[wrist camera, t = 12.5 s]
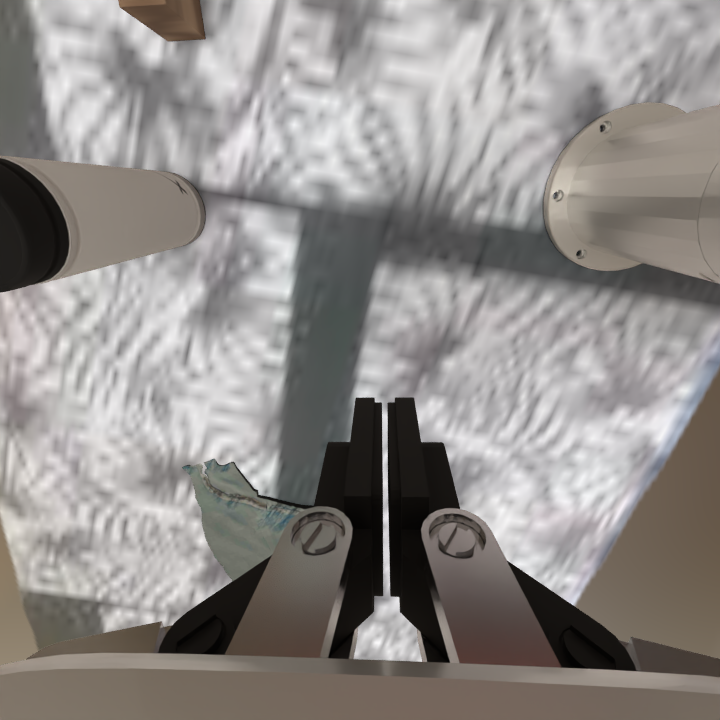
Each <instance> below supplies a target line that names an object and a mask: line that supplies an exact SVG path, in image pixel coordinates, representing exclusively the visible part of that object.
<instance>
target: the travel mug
mask: <svg viewBox="0 0 720 720" xmlns="http://www.w3.org/2000/svg"><path fill="white" fill-rule="evenodd" d="M204 223H205V210H204V206H203V202H202V200H201V197H200V195H199V193H198V192H197V191H196V189H195V188H194V187H193V186H192V185H191V184H190V183H189V182H188V181H187V180H186V179H184V178H183V177H181V176H179V175H177V174H174V173H170V172H163V171H153V170H143V169H132V168H122V167H112V166H102V165H91V164H81V163H71V162H60V161H50V160H40V159H30V158H19V157H9V156H0V292H6V291H11V290H14V289H18V288H22V287H26V286H29V285H35V284H41V283H46V282H49V281H52V280H57V279H61V278H64V277H68V276H72V275H76V274H79V273H83V272H87V271H91V270H94V269H98V268H102V267H106V266H109V265H113V264H117V263H120V262H124V261H128V260H132V259H135V258H139V257H143V256H147V255H150V254H154V253H158V252H162V251H165V250H169V249H173V248H177V247H180V246H184V245H187V244H189V243H191V242H193V241H194V240H196V239H197V237H198V236H199V235H200V233H201V231H202V230H203V227H204Z"/></svg>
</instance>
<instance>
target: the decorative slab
mask: <svg viewBox="0 0 720 720" xmlns="http://www.w3.org/2000/svg"><path fill="white" fill-rule="evenodd" d="M204 464H205V465H206V467H207V469H205V474H207V476H208V478H207V477H206V475H204V474H202V468H203V466H202V465H201V464H197V465H195V466H190V465H187V466H184V467H182V468H183V469H184V470H185V471H187V473H188V474H190V477H191V478H192V482H193V485H194V489H195V494H196V495H195V496H196V499H197V501H198V504H199V506H200V507H201V511H202V524H203V525H202V526H203V530H204V532H205V537H206V540H207V542H208V544H209V547H210V549H211V550H212V551H213V554H214V556H215V558H216V559H217V560H218V562H220V564H221V565H222V566H224V567H223V568H224V570H225V571H226V573H227V575H228V576H229V577H230V578H231V579H232V581H234V580H236V579H237V578H239V577H240V576H241V575H243V574H244V573H246V572H247V571H249V570H250V569H252V568H253V567H255V566H256V565H258V564H259V563H261V562H262V561H264V560H265V559H267V558H268V557H270V556H271V555H272V554H273V552H274V550H275V548H276V546H277V544H278V541H279V539H280V537H281V535H282V533H283V531H284V529H285V527H286V526H287V524H288V523H289V521H290V520H291V519H292V518H293V517H294V516H295V515H297V514H298V513H300V512H302V511H304V510H306V509H308V508H313V507H314V506H308V505H299V504H295V503H290V502H286V501H282V500H278V499H274V498H271V497H267V496H261V495H258V490H256V489H254V488H253V487H252V485H251V484H250V483H249V482H248V481H247V479H246V478H245V477H244V476H243V474H242V473H241V472H240V470H239V469H238V468H237V467H236V465H235V463H234V462H231V463H228V464H226V465H219V464H218V463H217V462H216V460H215V459H212V460H210V461H208V462H205V463H204ZM238 471H239V472H238Z"/></svg>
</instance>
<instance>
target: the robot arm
mask: <svg viewBox="0 0 720 720" xmlns="http://www.w3.org/2000/svg"><path fill="white" fill-rule="evenodd" d="M600 125H601V126H602V128H603V129H602V131H601V132H600ZM554 192H556V194H557V196H556V198H555V199H553V194H554ZM544 220H545V225H546V229H547V232H548V234H549V236H550V239H551V241H552V242H553V244H554V245H555V247H556V248H557V249H558V251H559V252H561V253H562V254H563V255H564V256H565V257H566V258H567V259H569V260H571V261H573V262H574V263H576V264H578V265H581V266H584V267H587V268H589V269H595V270H600V271H617V270H622V269H627V268H632V267H634V266H637V265H640V264H642V263H644V264H648V265H652V266H655V267H659V268H663V269H667V270H670V271H674V272H678V273H681V274H685V275H689V276H693V277H696V278H700V279H704V280H707V281H711V282H715V283H719V284H720V104H719V105H715V106H711V107H708V108H704V109H700V110H696V111H692V112H689V113H686V112H684V111H682V110H681V109H679V108H677V107H674V106H671V105H667V104H664V103H651V102H646V103H639V104H632V105H628V106H625V107H622V108H619V109H616V110H614V111H612V112H609V113H607V114H605V115H603V116H601V117H599V118H598V119H596V120H595V121H593V122H592V123H590V124H589V125H587V126H586V127H585V128H583V129H582V130H581V131H580V132H579V133H578V134H577V135H576V136H575V137H574V138H573V139H572V140H571V141H570V142H569V144H568V145H567V146H566V148H565V149H564V150H563V151H562V153H561V154H560V156H559V158H558V159H557V161H556V163H555V165H554V167H553V168H552V171H551V174H550V176H549V179H548V182H547V185H546V190H545V195H544ZM577 251H579V254H578V255H576V253H577ZM388 506H389V550H390V594H391V596H395V597H399V598H400V613H402V614H403V615H404V616H405V617H406V618H407V619H408V620H409V621H410V622H411V623H412V624H413V625H414V626H415V627H416V628H417V638H418V644H419V648H420V653H421V657H422V662H411V661H385V660H358V659H353V658H354V653H355V648H356V643H357V636H358V626H359V625H360V624H361V623H362V622H363V621H365V620H366V619H367V618H368V617H369V616H370V615H371V614H372V613H373V612H374V596H383V472H382V403H375V399H374V398H356V400H355V408H354V416H353V424H352V432H351V440H350V442H328V444H327V448H326V453H325V458H324V462H323V467H322V472H321V476H320V481H319V485H318V490H317V495H316V499H315V504H314V507H313V508H308V509H306V510H304V511H302V512H300V513H298V514H297V515H295V516H294V517H293V518H292V519H291V520H290V521H289V523H288V524H287V526H286V527H285V529H284V531H283V533H282V535H281V537H280V539H279V541H278V544H277V546H276V548H275V550H274V552H273V554H272V555H271V556H270V557H268V558H267V559H265V560H264V561H262V562H261V563H259V564H258V565H256V566H255V567H253V568H252V569H250V570H249V571H247V572H246V573H244V574H243V575H241V576H240V577H239V578H237V579H236V580H234V581H233V582H231V583H230V584H228V585H227V586H225V587H224V588H222V589H221V590H219V591H218V592H216V593H215V594H213V595H212V596H210V597H209V598H207V599H206V600H204V601H203V602H201V603H200V604H198V605H197V606H196V607H194V608H193V609H191V610H190V611H188V612H187V613H186V614H184V615H183V616H182V617H181V618H180V619H178V620H177V621H176V622H175V623H174V624H173V625H172V626H167V627H164V626H163V623H162V621H161V622H156V623H151V624H146V625H141V626H137V627H132V628H127V629H122V630H117V631H112V632H107V633H102V634H97V635H92V636H87V637H82V638H77V639H72V640H67V641H62V642H58V643H55V644H53V645H50V646H47V647H44V648H43V649H41V650H39V651H38V652H36V653H35V654H33V655H32V656H30V657H28V658H27V659H26V660H23V661H18V662H13V663H9V664H5V665H0V720H720V659H718V658H714V657H710V656H706V655H702V654H698V653H694V652H690V651H686V650H682V649H678V648H674V647H670V646H666V645H662V644H658V643H654V642H650V641H646V640H642V639H638V638H634V637H631V638H630V641H629V643H628V642H624V641H620V640H618V639H617V638H616V636H614V635H613V634H612V633H611V632H609V631H608V630H607V629H606V628H605V627H603V626H602V625H601V624H600V623H598V622H596V621H595V620H593V619H592V618H591V617H589V616H588V615H586V614H584V613H583V612H582V611H580V610H579V609H577V608H576V607H575V606H573V605H572V604H570V603H569V602H567V601H566V600H564V599H563V598H561V597H560V596H558V595H557V594H555V593H554V592H552V591H551V590H549V589H548V588H547V587H545V586H544V585H542V584H541V583H539V582H538V581H536V580H535V579H533V578H532V577H530V576H529V575H527V574H526V573H524V572H523V571H522V570H520V569H519V568H517V567H516V566H514V565H513V564H511V563H510V562H508V561H507V560H506V558H505V556H504V554H503V552H502V550H501V548H500V547H499V545H498V543H497V541H496V539H495V537H494V535H493V533H492V531H491V530H490V528H489V527H488V525H487V524H486V523H485V522H484V521H483V520H482V519H480V518H479V517H478V516H476V515H474V514H472V513H470V512H468V511H465V510H461V509H460V507H459V502H458V498H457V494H456V490H455V486H454V482H453V478H452V474H451V470H450V466H449V462H448V458H447V454H446V450H445V446H444V444H443V443H442V442H421V439H420V433H419V427H418V420H417V414H416V408H415V401H414V398H395V403H388Z"/></svg>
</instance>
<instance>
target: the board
mask: <svg viewBox="0 0 720 720" xmlns="http://www.w3.org/2000/svg"><path fill="white" fill-rule="evenodd" d="M118 1H119V6H120V8H122V9H123V10H125V11H126V12H127V13H129V14H130V15H132V16H133V17H134V18H136V19H137V20H139V21H140V22H141V23H143V24H144V25H146V26H147V27H148V28H150V29H151V30H153V31H154V32H156V33H157V34H158V35H160V36H161V37H163V38H164V39H165V40H167V41H180V40H197V39H205V33H204V26H203V19H202V13H201V6H200V0H118Z"/></svg>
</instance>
